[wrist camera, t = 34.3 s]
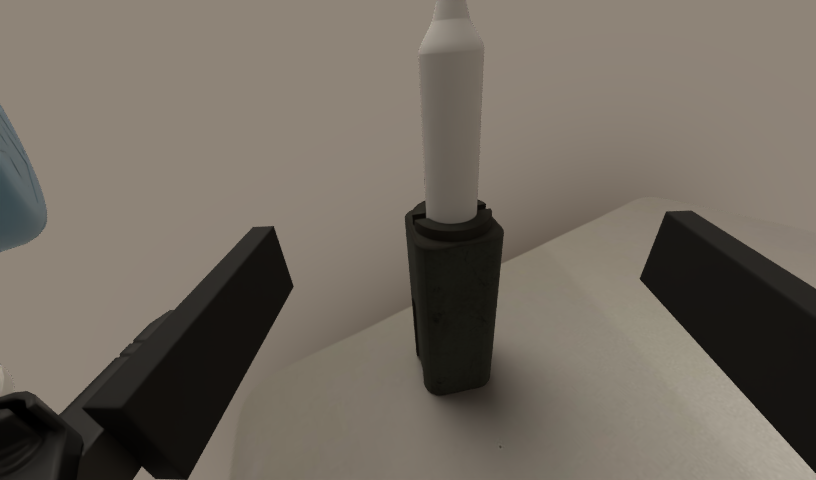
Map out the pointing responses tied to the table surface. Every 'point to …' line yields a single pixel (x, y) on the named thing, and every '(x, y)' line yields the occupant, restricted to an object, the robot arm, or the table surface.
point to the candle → (453, 213)
